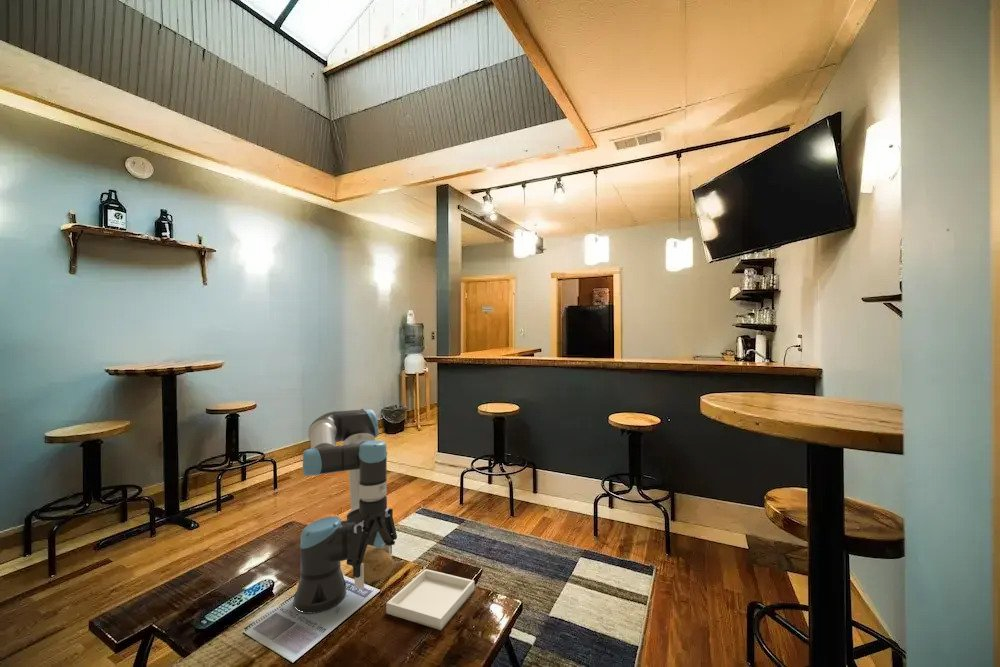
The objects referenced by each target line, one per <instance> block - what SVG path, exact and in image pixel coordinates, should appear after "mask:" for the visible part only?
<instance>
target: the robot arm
mask: <svg viewBox="0 0 1000 667" xmlns="http://www.w3.org/2000/svg"><path fill="white" fill-rule="evenodd" d="M378 425H379V422H378V418H377V414H376V412H375V411H374V410H373V409H371V408H367V409H365V408H361V409H351V410H339V411H337V410H335V411H330V412H326V413H325V414H322V415H320V416H319V417H317V418H316V419H314V420H313V421H312V423H311V424H310V426H309V428H308V430H307V431H308V432H307V436H308V437H307V438H308V439H309V441H310V448H308V449H305V450H304V451H303V452H302V474H303V475H304V476H307V477H308V476H320V475H325V474H333V473H339V472H347V471H348V476H349V491H350V492H349V495H350V510H349V511H348V513H347V514H346V519H345V520H342V519H341V518H340V517H339V516H326V517H322V518H319V519H317V520H314V521H312V522H311V523H309V524H308V525H306V526H305V527H304V528H303V530H302V531H301V534H300V543H299V548H300V568H299V570H300V572H299V573H300V578H299V582H298V585H297V588H296V591H295V593H294V596H293V607H294V606H295V607H296V608H297V609H298V610H300V611H303V612H306V613H305V614H308V613H307V612H312V613H311V614H314V613H313V612H315V613H319V612H320V613H321V612H323V611H326V610H329V609H331V608H333V607H335V606H336V605H338V604H339V603H341V602H342V600H344V599H345V597H346V595H347V582H346V581H345V578H344V575H343V571H342V569H341V562H343V561H346V565H349V566H351V567H352V566H353V567H352V576H353V578H354V588H356V589H359V590H364V589H365V580H364V563H362V560H363V557H364V554H365V551H366V548H367V545H372V546H374V547H377V548H380V549H383V550H385V551H386V552H387V553H389V554H390V555H391V556H392V553H393V552H392V549H393V547H392V546H395V544H396V541H395V540H397V537H398V536H397V531H396V527H395V521H394V517H393V515H394V514H393V511H394V510H393V508H391V507H390V508H388V497H387V492H388V491H387V490H388V489H387V477H388V476H387V472H388V470H387V467H388V464H387V461H388V460H387V456H388V451H387V444H386V442H385V441H383V440H376V439H377V438H378V436H379V426H378ZM336 442H343V445H336ZM357 559H358V560H357Z"/></svg>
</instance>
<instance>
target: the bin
mask: <svg viewBox="0 0 1000 667" xmlns="http://www.w3.org/2000/svg"><path fill="white" fill-rule="evenodd" d="M475 588H476V587H475V580H473V579H469V578H465V577H461V576H456V575H454V574H448V573H445V572H441V571H436V570H433V569H428V568H424V569H423V570H422V572H420V573H419V574H417V576H415V577H414V578H413V579H412V580H410V582H408V583H407V584H406V585H405V586H404V587H402V589H400V590H399V591H398V592H397V593H396V594H395V595H394V596H392V597H391V598H390V599H389V600H388V601H386V605H385V606H386V607H385V608H386V609H385V611H386V612H385V613H386V614H387V615H389V616H390V615H391V616H394V617H396V618H400V619H404V620H407V621H409V622H414V623H416V624H419V625H423V626H426V627H429V628H433V629H436V630H438V631H442V630H443V628H444V627H445V626H446V625H447V624H448V622H449V621H450V620H452V618H453V617H454V615H455V614H456V613H457V612H458V611H459V610H460V608H461V607H462V606H463V605H464V604H465V602H466V601H467V600H468V599H469V598H470V596H471V595H472V594H473V592H475Z"/></svg>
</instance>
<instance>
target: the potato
mask: <svg viewBox="0 0 1000 667" xmlns="http://www.w3.org/2000/svg"><path fill="white" fill-rule="evenodd" d="M357 560H358V559H357ZM362 563H364V582H365V581H366V582H370V583H371V582H377V581H380V580H384V579H385V578H387V577H388V576H389V575H390V574H391V573H392V571H393V569H394V558H393V556H392V554H391V555H390V554H389V553H387V552H386V551H385V550H383V549H380V548H377V547H374V546H372V545H367V548H366V551H365V554H364V557H363V560H362ZM351 567H352V568H353V566H351Z"/></svg>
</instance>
